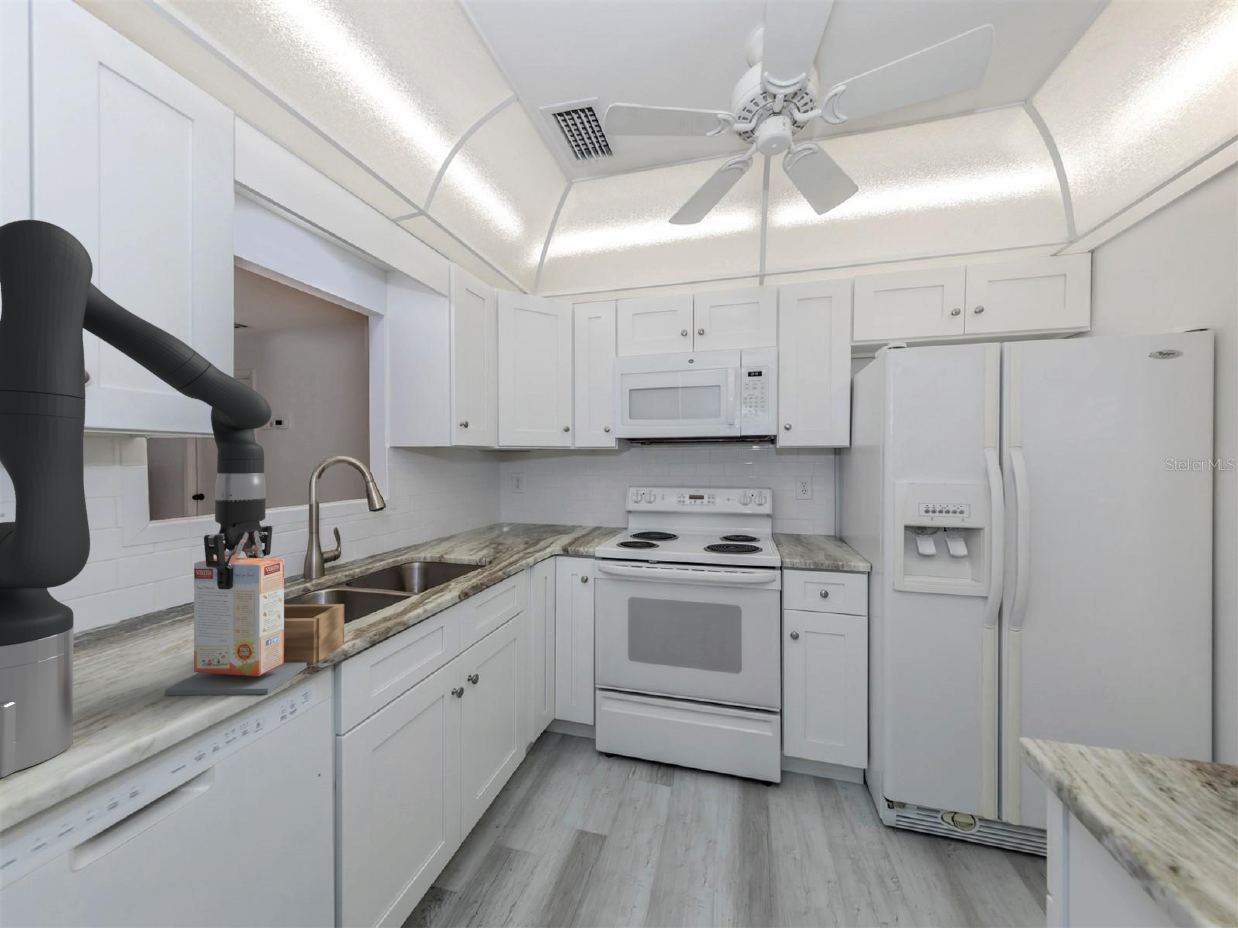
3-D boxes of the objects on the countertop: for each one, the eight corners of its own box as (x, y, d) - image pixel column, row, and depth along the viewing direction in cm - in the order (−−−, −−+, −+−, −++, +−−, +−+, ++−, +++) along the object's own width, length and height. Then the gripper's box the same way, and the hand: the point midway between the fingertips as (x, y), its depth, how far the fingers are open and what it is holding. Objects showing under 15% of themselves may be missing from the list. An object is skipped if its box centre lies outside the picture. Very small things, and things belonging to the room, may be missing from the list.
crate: (315, 663, 97) (315, 620, 97) (219, 664, 96) (220, 621, 96) (345, 642, 108) (346, 604, 108) (260, 643, 107) (260, 604, 107)
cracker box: (286, 664, 91) (286, 557, 91) (258, 678, 85) (258, 564, 85) (223, 659, 93) (223, 555, 93) (192, 673, 87) (191, 561, 87)
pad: (267, 694, 84) (267, 688, 84) (164, 695, 83) (164, 689, 83) (306, 667, 95) (306, 662, 95) (215, 668, 94) (216, 663, 94)
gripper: (231, 499, 82) (230, 594, 82) (286, 494, 96) (285, 575, 96) (187, 499, 82) (186, 594, 82) (249, 494, 96) (248, 575, 96)
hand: (240, 583), depth 89 cm, fingers closed on cracker box, 6 cm apart
